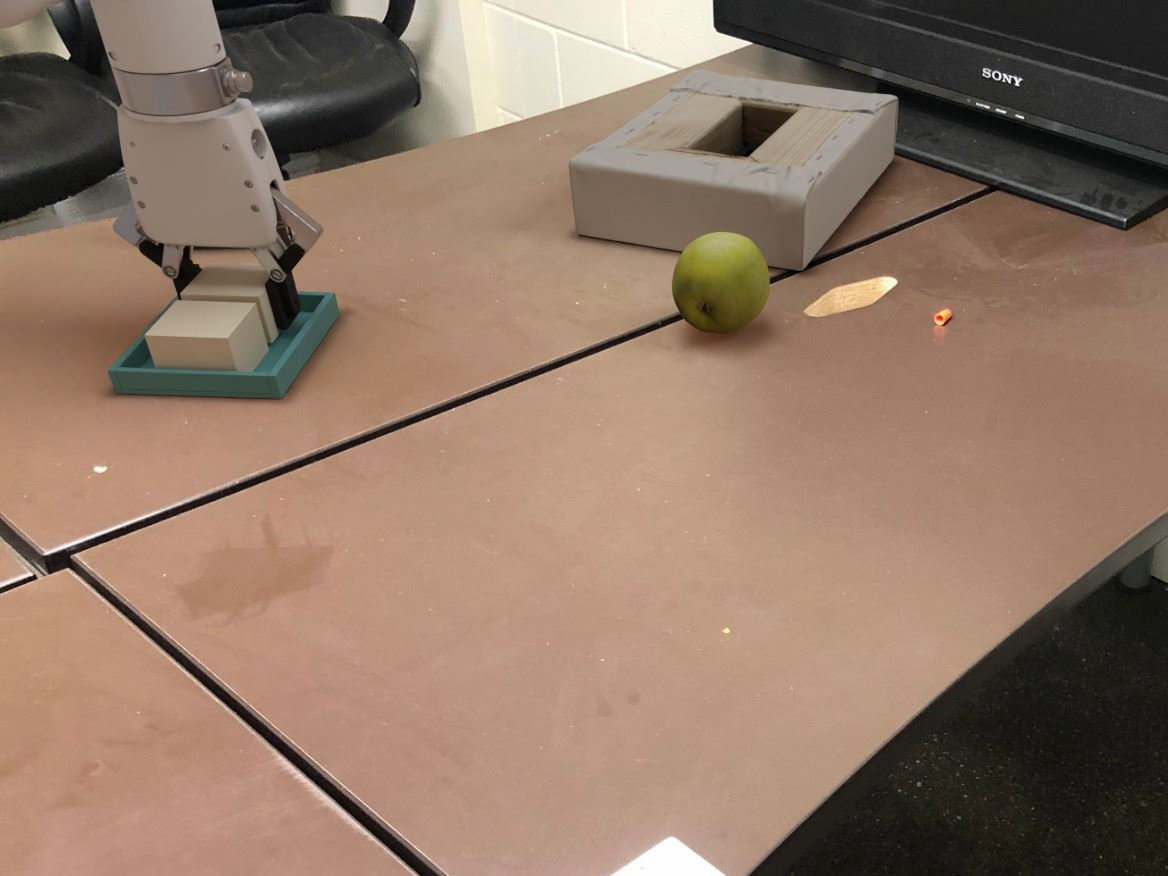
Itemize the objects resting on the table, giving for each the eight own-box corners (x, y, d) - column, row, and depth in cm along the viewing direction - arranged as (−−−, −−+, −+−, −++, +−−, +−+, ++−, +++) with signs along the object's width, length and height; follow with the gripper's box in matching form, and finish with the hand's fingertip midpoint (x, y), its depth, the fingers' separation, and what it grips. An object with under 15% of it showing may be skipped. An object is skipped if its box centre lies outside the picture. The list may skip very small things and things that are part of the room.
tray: (115, 393, 99) (106, 370, 98) (190, 308, 111) (183, 286, 109) (281, 398, 100) (275, 375, 99) (340, 313, 111) (334, 292, 110)
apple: (784, 313, 115) (783, 222, 110) (748, 359, 108) (745, 265, 103) (700, 299, 116) (695, 209, 111) (658, 344, 110) (651, 250, 104)
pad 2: (160, 384, 100) (143, 334, 97) (191, 347, 105) (176, 299, 102) (242, 386, 100) (227, 337, 98) (269, 350, 105) (256, 302, 102)
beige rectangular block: (223, 308, 109) (208, 261, 107) (297, 310, 110) (284, 264, 107) (195, 341, 105) (179, 293, 102) (272, 343, 105) (258, 295, 102)
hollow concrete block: (809, 276, 121) (897, 159, 145) (808, 192, 116) (899, 85, 140) (573, 243, 125) (697, 135, 149) (562, 160, 120) (692, 62, 144)
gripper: (315, 75, 99) (368, 304, 110) (77, 66, 98) (155, 297, 109) (282, 107, 93) (340, 345, 104) (28, 98, 92) (116, 339, 104)
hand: (245, 319), depth 107 cm, fingers closed on beige rectangular block, 6 cm apart
